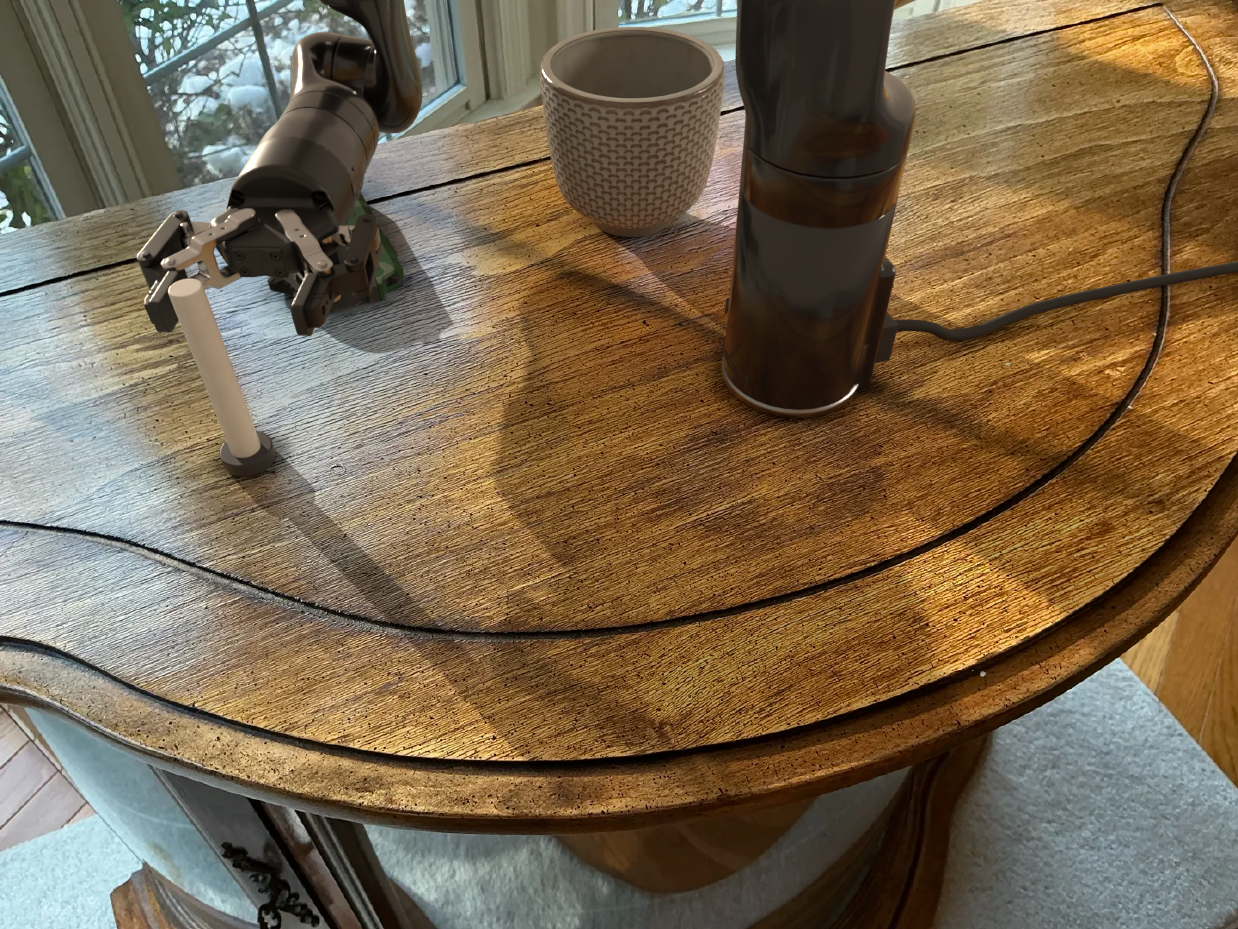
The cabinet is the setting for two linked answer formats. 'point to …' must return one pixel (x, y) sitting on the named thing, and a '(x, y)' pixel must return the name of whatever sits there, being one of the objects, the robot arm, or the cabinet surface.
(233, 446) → the beige rod with base
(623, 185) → the planter
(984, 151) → the cabinet surface
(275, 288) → the gun
